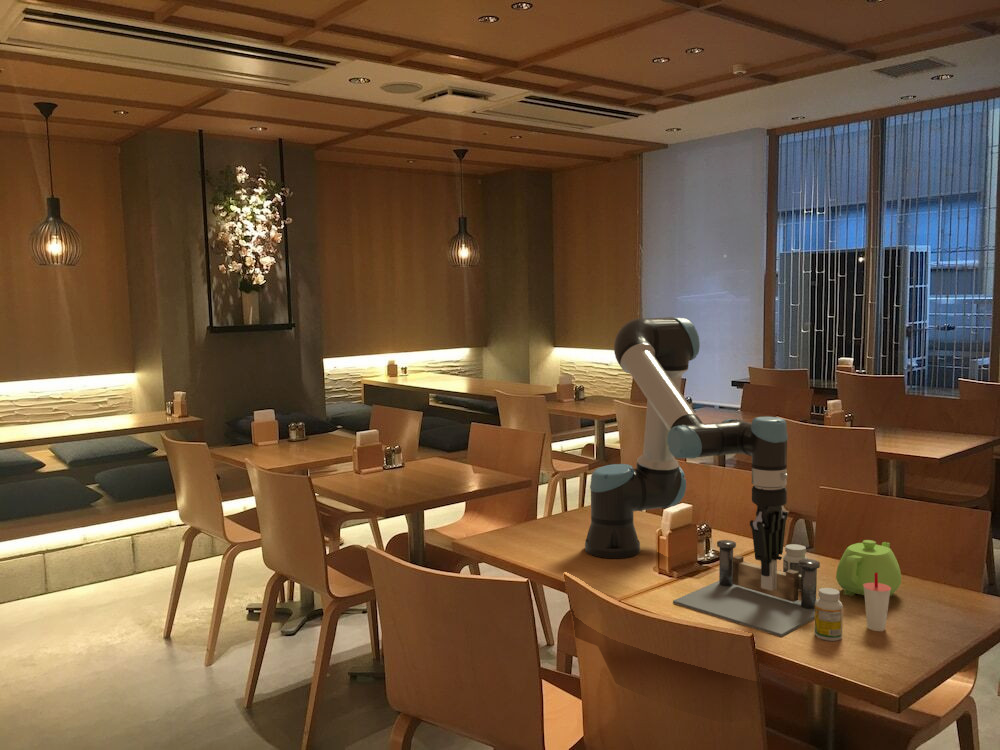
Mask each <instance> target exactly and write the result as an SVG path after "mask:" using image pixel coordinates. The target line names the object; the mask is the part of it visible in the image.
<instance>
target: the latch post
mask: <svg viewBox="0 0 1000 750" xmlns="http://www.w3.org/2000/svg"><path fill="white" fill-rule="evenodd" d="M820 563H821V562H820V561H819V560H816V559H811V558H808V559H801V560H799V566H800V567H801V575H799V589H800V590H801V591H800V601H801V607H802V608H805V609H815V601H816V600H817V583H818V581H817V580H818V579H817V576H818V569H819V568H821V564H820Z"/></svg>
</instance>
